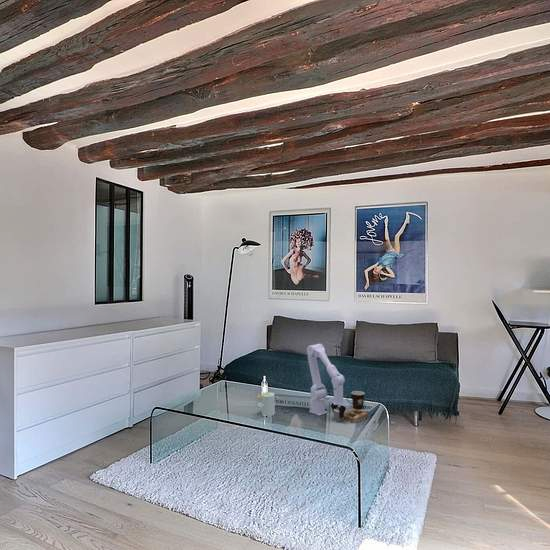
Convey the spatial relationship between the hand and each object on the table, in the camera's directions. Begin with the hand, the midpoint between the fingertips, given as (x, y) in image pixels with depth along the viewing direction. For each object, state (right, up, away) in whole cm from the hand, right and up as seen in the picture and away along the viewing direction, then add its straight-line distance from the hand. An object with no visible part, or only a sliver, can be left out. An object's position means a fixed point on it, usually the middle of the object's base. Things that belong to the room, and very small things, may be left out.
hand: (338, 416), depth 255 cm
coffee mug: (+15, -1, +21) cm, 26 cm away
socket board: (+11, -2, +4) cm, 11 cm away
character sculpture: (-45, -3, +12) cm, 46 cm away
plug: (0, -2, 0) cm, 2 cm away
